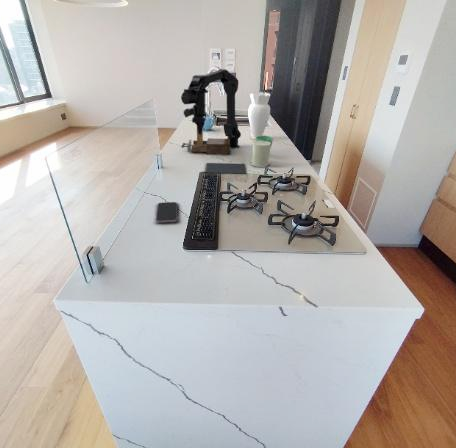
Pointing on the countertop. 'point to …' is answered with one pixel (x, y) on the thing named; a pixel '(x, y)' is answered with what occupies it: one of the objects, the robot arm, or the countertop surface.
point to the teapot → (208, 123)
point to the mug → (265, 139)
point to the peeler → (200, 138)
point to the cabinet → (218, 146)
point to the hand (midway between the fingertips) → (199, 133)
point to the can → (261, 153)
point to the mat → (225, 168)
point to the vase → (258, 113)
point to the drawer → (195, 147)
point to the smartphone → (166, 212)
